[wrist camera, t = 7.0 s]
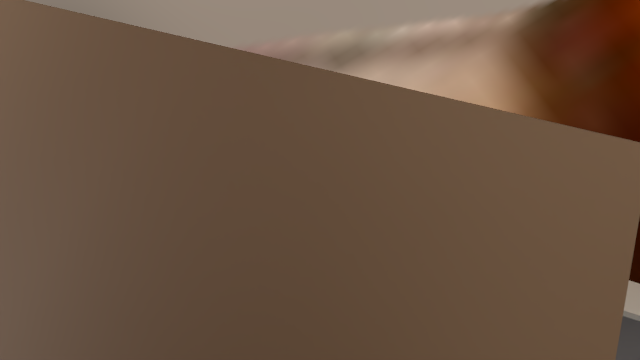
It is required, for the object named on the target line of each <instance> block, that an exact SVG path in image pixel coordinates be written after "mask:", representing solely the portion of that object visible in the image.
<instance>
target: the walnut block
mask: <svg viewBox="0 0 640 360" xmlns="http://www.w3.org/2000/svg"><path fill="white" fill-rule="evenodd" d="M639 217H640V142H636V141H631V140H627V139H623V138H618V137H614V136H610V135H605V134H601V133H597V132H592V131H588V130H584V129H579V128H575V127H571V126H566V125H562V124H558V123H553V122H549V121H545V120H540V119H536V118H532V117H527V116H523V115H519V114H514V113H510V112H506V111H502V110H497V109H493V108H489V107H484V106H480V105H476V104H471V103H467V102H463V101H458V100H454V99H450V98H445V97H441V96H437V95H432V94H428V93H424V92H419V91H415V90H411V89H406V88H402V87H398V86H393V85H389V84H385V83H380V82H376V81H372V80H367V79H363V78H359V77H354V76H350V75H346V74H341V73H337V72H333V71H328V70H324V69H320V68H315V67H311V66H307V65H302V64H298V63H294V62H289V61H285V60H281V59H276V58H272V57H268V56H263V55H259V54H255V53H250V52H246V51H242V50H237V49H233V48H229V47H224V46H220V45H216V44H211V43H207V42H202V41H199V40H194V39H190V38H185V37H181V36H176V35H172V34H168V33H164V32H160V31H155V30H151V29H146V28H142V27H138V26H134V25H129V24H125V23H121V22H116V21H112V20H108V19H103V18H99V17H95V16H90V15H86V14H82V13H77V12H72V11H68V10H64V9H60V8H55V7H51V6H47V5H43V4H38V3H34V2H29V1H25V0H0V360H615V359H616V353H617V347H618V341H619V335H620V329H621V324H622V318H623V312H624V306H625V300H626V294H627V288H628V282H629V276H630V270H631V265H632V259H633V253H634V247H635V241H636V235H637V229H638V223H639Z"/></svg>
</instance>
